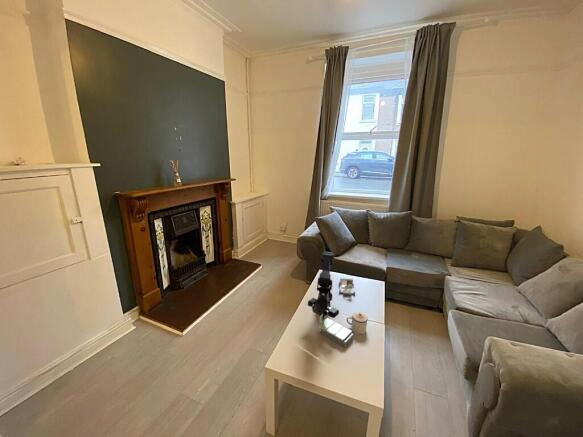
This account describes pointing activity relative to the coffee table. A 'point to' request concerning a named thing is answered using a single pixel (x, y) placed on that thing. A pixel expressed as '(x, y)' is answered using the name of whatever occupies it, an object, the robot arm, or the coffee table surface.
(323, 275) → the robot arm
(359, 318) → the teacup with lid
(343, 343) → the tub
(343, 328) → the lid
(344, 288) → the toy rover
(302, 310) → the coffee table surface
